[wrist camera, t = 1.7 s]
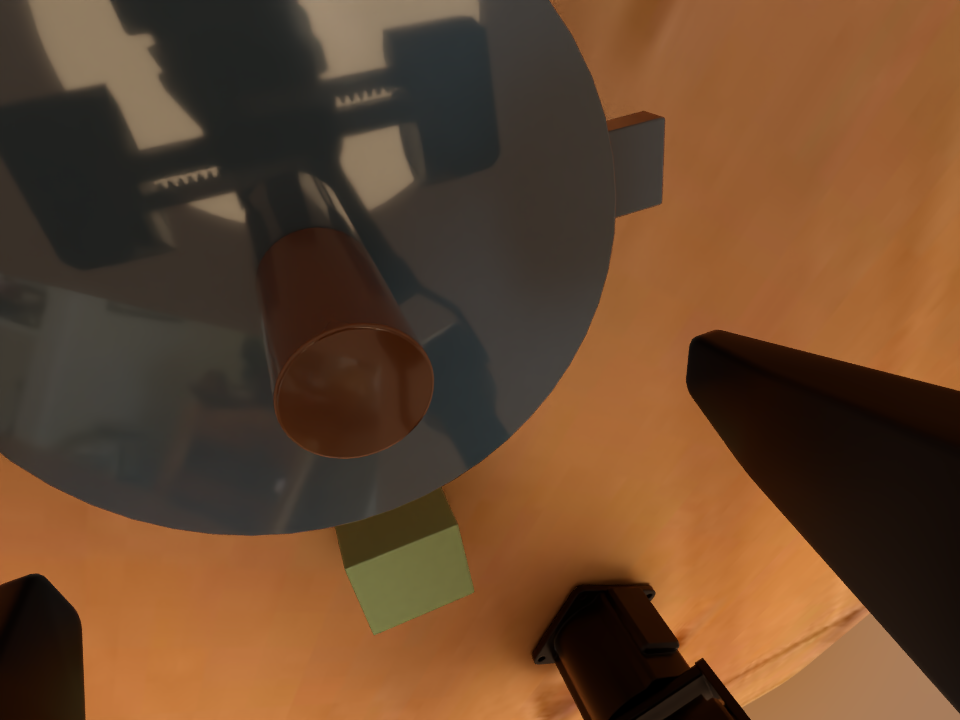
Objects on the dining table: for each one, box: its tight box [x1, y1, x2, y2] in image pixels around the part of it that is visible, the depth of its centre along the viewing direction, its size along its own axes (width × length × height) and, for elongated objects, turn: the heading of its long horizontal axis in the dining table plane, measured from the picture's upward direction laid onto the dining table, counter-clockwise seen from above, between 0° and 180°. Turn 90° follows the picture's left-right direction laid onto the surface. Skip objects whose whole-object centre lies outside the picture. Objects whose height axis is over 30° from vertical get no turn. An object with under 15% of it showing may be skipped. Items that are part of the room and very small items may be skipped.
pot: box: [606, 111, 665, 218], centre depth 16 cm, size 14×19×6 cm
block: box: [335, 487, 474, 635], centre depth 25 cm, size 4×4×4 cm
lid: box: [0, 0, 616, 536], centre depth 12 cm, size 15×15×6 cm
